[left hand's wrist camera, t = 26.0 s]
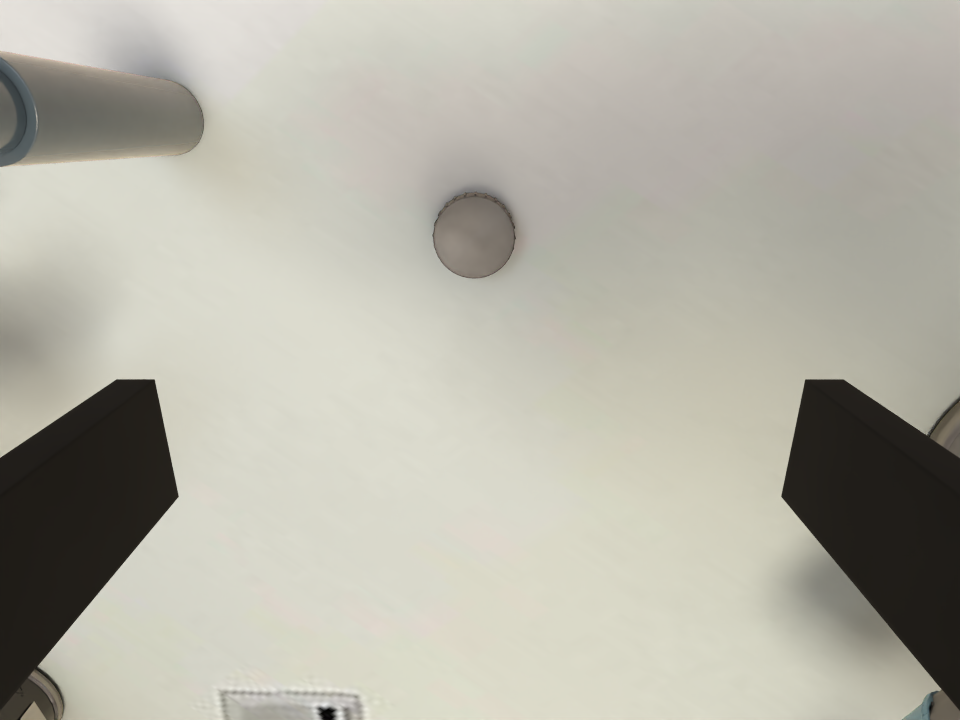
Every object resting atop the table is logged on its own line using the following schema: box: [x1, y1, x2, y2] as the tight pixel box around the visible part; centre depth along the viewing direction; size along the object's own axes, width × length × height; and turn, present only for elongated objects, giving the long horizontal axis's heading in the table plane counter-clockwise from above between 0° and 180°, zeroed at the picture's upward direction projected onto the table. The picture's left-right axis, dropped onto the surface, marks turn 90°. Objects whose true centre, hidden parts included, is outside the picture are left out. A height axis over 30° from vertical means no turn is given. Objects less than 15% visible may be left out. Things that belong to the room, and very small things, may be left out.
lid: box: [433, 192, 516, 278], centre depth 36 cm, size 5×5×2 cm
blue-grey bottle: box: [0, 51, 203, 167], centre depth 27 cm, size 4×4×16 cm
